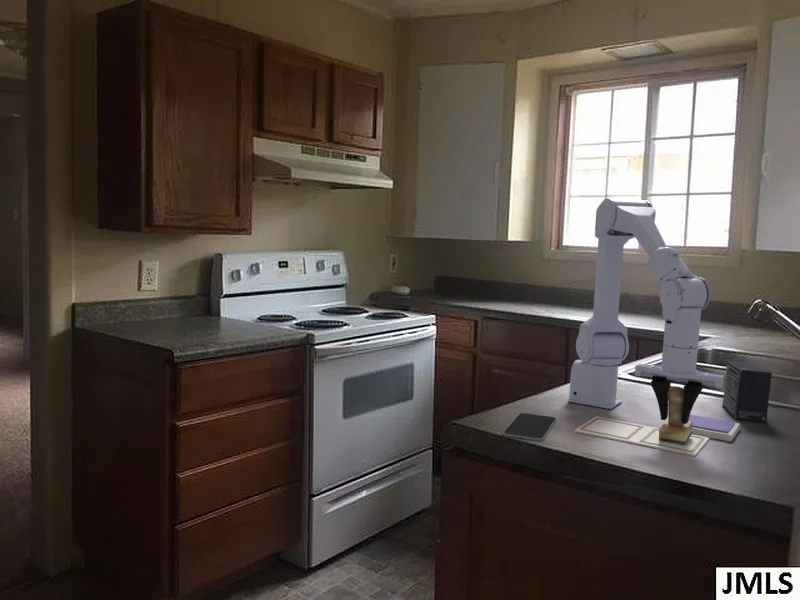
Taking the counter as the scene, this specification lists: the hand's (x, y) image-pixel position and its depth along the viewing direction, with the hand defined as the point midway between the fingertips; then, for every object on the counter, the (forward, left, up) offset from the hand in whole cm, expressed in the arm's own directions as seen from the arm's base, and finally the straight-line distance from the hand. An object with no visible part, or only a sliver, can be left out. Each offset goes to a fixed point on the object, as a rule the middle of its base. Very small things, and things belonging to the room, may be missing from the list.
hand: (674, 420), depth 123 cm
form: (-6, 0, -4) cm, 7 cm away
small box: (+7, +30, -4) cm, 31 cm away
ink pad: (+3, +12, -4) cm, 13 cm away
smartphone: (-24, -9, -4) cm, 26 cm away
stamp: (0, +1, -3) cm, 3 cm away
